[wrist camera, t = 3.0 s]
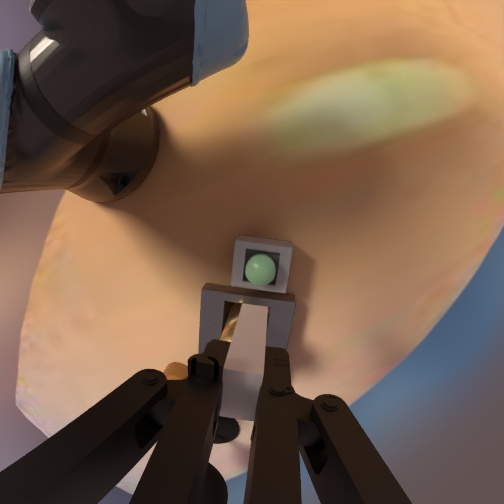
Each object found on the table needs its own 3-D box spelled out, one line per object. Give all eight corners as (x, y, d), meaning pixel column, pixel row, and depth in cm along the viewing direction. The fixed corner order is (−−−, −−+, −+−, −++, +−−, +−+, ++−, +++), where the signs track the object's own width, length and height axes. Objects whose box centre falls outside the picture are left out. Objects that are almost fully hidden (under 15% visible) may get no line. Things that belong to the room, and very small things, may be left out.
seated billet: (228, 328, 35) (213, 374, 25) (231, 297, 34) (215, 338, 24) (261, 332, 35) (257, 381, 25) (266, 302, 34) (263, 345, 24)
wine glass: (230, 403, 38) (206, 510, 18) (245, 441, 40) (232, 534, 20) (171, 405, 39) (128, 496, 19) (191, 442, 41) (164, 525, 21)
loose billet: (166, 381, 38) (142, 424, 28) (165, 359, 37) (138, 402, 27) (193, 387, 38) (174, 433, 27) (193, 365, 37) (172, 412, 27)
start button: (245, 277, 29) (243, 283, 28) (248, 250, 29) (247, 254, 27) (273, 281, 29) (273, 287, 27) (277, 254, 29) (277, 258, 27)
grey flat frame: (201, 371, 37) (197, 381, 34) (206, 282, 34) (201, 289, 31) (276, 382, 36) (276, 393, 34) (294, 294, 33) (295, 302, 31)
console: (235, 275, 33) (230, 285, 29) (239, 234, 32) (235, 240, 28) (284, 281, 33) (285, 293, 29) (290, 241, 32) (292, 247, 28)
